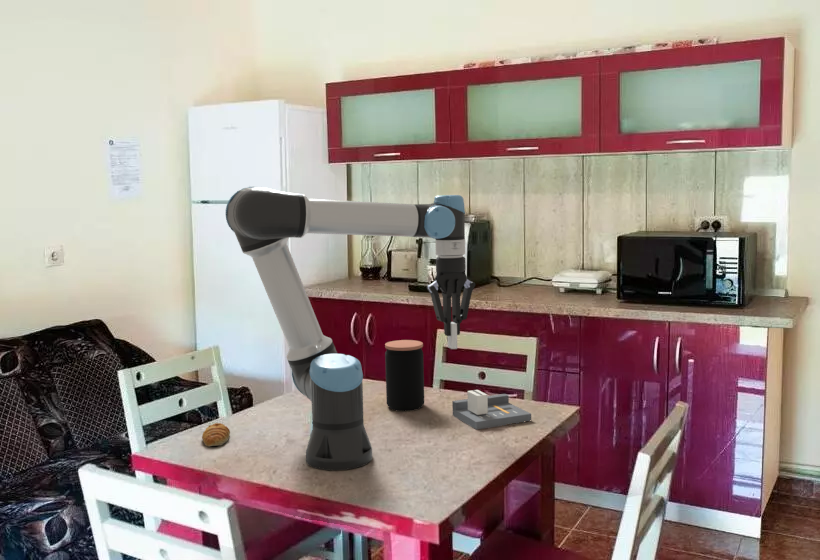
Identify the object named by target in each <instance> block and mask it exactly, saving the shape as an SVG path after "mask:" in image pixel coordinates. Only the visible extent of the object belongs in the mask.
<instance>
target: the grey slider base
mask: <svg viewBox="0 0 820 560" xmlns="http://www.w3.org/2000/svg"><path fill="white" fill-rule="evenodd" d="M487 396H488V413H487V414H480V415H477V414H475V413H473V412H471V411H470V410H468V398H465V399H456V400H452V416H453V417H454V418H456V419H458V420H459V421H461V422H463V423H464V424H466V425H468V426H470V427H471V428H473V429H475V430H476V431H477V430H482V429H483V430H484V429H489V428H496V427H502V425H503V426H507V425H506V424H510V425H512V424H511V423H516V424H520V423H519V422H523V423H525V422H524V421H529V422H531V421H532V413H531V412H528V411H526V410H524V409H522V408H520V407H519V406H516V405H515V404H513V403H510V402H509V401H510V400H509V397H510V396H509V395H508V394H506V393H501V394H495V395H487ZM530 420H531V421H530Z"/></svg>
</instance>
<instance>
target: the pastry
mask: <svg viewBox="0 0 820 560" xmlns="http://www.w3.org/2000/svg"><path fill="white" fill-rule="evenodd" d="M230 434H231V431H230V428H229V427H228V426H226V425H225V424H224V423H221V422H216V423H212V424H210V425H208V426H207V427H206V428H205V430H204V431H203V433H202V434H201V435H202V436H201V438H202V439H201V440H202V442H203V443H204V445H205V446H207V447H212V446H223V445H224V444H225V443H228V440H229V439H230Z"/></svg>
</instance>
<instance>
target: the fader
mask: <svg viewBox="0 0 820 560" xmlns="http://www.w3.org/2000/svg"><path fill="white" fill-rule="evenodd" d="M488 396H489V395H488V393H485V392H483V391H481V390H479V389H473V390H467V399H468V410H470V411H471V412H473V413H475V414H477V415H480V414H487V413H488Z"/></svg>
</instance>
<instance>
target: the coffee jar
mask: <svg viewBox="0 0 820 560" xmlns="http://www.w3.org/2000/svg"><path fill="white" fill-rule="evenodd" d="M384 345H385V346H384V347H385V350H386V351H385V352H384V359H385V387H386V388H385V390H386V393H385V395H386V397H385V398H386V405H387V407H388V409H390V410H392V409H393V410H392V411H396V410H397V412H410V411H412V412H413V411H418V410H420V409H422V407H423V406H424V404H425V376H424V375H425V372H424V371H425V369H424V352H423V347H424V343H423V342H422V341H420V340H413V339H401V340H400V339H399V340H392V341H391V340H390V341H387V342H385V344H384Z"/></svg>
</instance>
